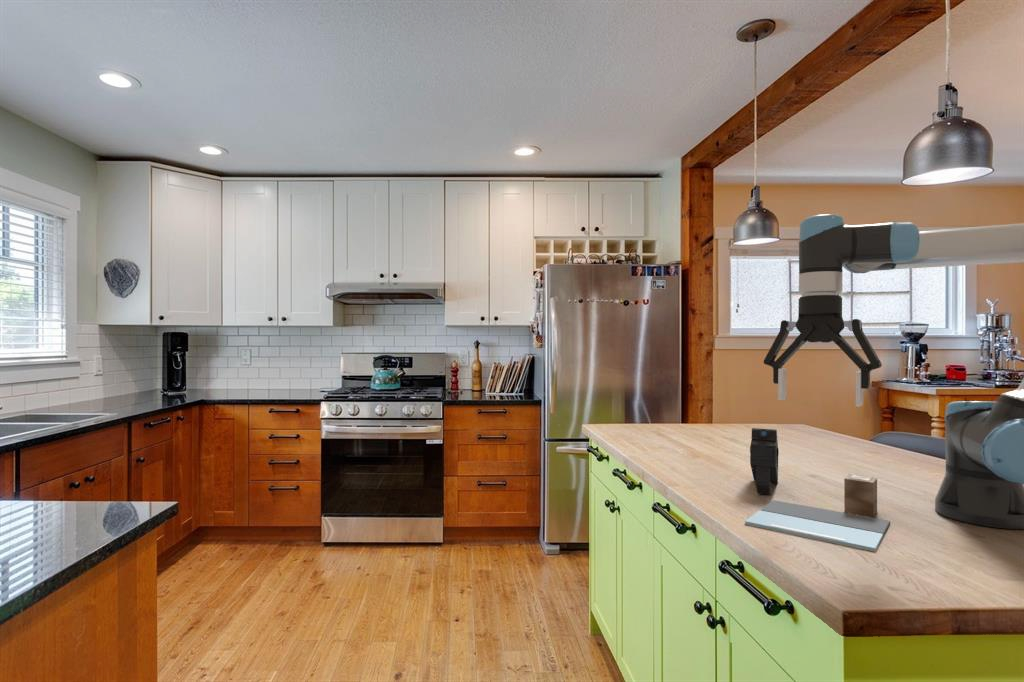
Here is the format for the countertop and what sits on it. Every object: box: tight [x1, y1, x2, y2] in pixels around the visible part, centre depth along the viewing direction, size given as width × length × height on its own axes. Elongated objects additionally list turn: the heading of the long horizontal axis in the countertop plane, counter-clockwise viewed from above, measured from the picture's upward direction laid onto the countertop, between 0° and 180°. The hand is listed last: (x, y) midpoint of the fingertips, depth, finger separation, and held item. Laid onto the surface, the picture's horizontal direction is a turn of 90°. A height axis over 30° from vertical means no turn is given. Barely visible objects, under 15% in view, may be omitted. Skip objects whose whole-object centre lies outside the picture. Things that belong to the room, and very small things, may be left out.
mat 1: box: [760, 499, 891, 537], centre depth 108 cm, size 21×9×1 cm, turn 49°
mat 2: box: [744, 509, 884, 553], centre depth 101 cm, size 21×9×1 cm, turn 49°
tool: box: [749, 427, 779, 495], centre depth 132 cm, size 6×19×15 cm, turn 152°
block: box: [843, 473, 878, 518], centre depth 112 cm, size 5×5×7 cm
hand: (819, 403), depth 107 cm, fingers open, 13 cm apart
